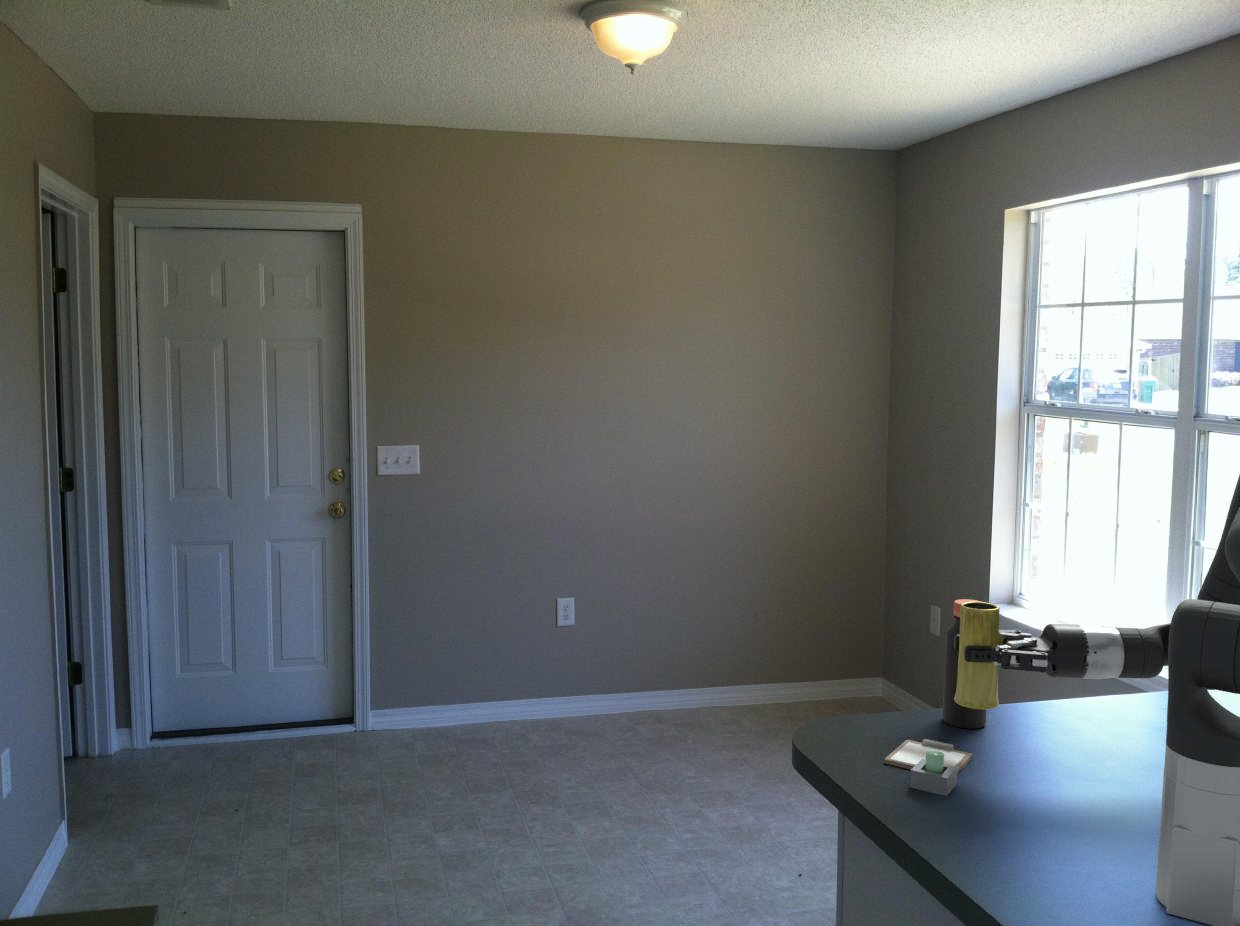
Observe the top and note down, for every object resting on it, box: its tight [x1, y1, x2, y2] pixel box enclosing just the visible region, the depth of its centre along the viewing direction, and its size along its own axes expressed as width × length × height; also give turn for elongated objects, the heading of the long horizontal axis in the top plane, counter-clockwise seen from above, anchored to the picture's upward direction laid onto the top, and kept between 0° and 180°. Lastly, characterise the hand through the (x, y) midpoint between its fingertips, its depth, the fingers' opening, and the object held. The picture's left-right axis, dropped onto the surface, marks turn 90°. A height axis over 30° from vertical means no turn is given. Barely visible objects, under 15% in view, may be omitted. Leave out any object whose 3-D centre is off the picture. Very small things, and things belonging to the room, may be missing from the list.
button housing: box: [909, 759, 959, 797], centre depth 144 cm, size 5×5×2 cm
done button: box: [925, 750, 944, 774], centre depth 144 cm, size 2×2×3 cm
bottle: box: [941, 598, 988, 730], centre depth 170 cm, size 7×7×20 cm
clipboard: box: [883, 738, 974, 774], centre depth 154 cm, size 10×10×1 cm
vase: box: [954, 601, 1000, 710], centre depth 150 cm, size 6×6×14 cm
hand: (960, 647), depth 150 cm, fingers closed on vase, 5 cm apart
